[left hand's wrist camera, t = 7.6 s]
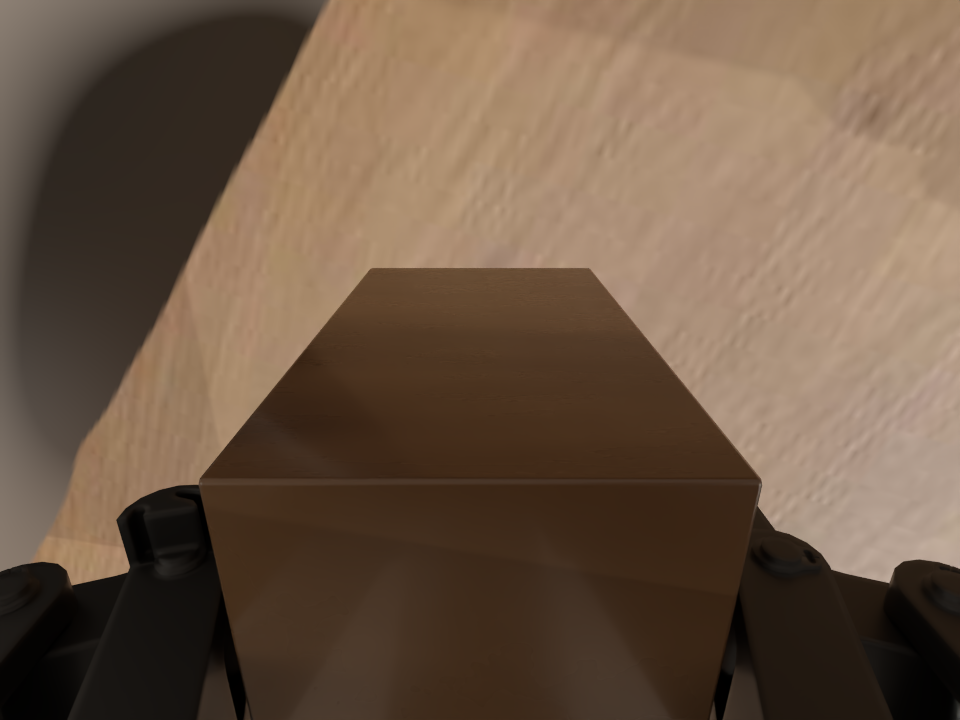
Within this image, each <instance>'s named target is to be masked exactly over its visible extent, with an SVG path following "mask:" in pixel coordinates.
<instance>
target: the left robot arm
mask: <svg viewBox="0 0 960 720" xmlns="http://www.w3.org/2000/svg"><path fill="white" fill-rule="evenodd" d="M117 524H118V527H119V531H120V534H121V537H122V541H123V544H124V547H125V551H126V554H127V558H128V561H129V564H130V569H129V571H128V573H124V574H121V575H117V576H113V577H109V578H104V579H100V580H95V581H90V582H86V583H81V584H77V585H71V582H70V579H69V576H68V573H67V571H66V570H65V569H64V568H62V567H61V566H60V565H59V564H55V563H47V562H38V563H31V564H24V565H20V566H17V567H13V568H11V569H7V570H4V571H1V572H0V720H251V718H250V713H249V709H248V704H247V700H246V695H245V691H244V686H243V682H242V677H241V673H240V668H239V664H238V659H237V655H236V650H235V646H234V642H233V637H232V633H231V628H230V624H229V619H228V615H227V610H226V606H225V601H224V597H223V592H222V588H221V583H220V579H219V574H218V570H217V565H216V561H215V556H214V552H213V547H212V543H211V538H210V534H209V529H208V525H207V520H206V516H205V511H204V507H203V502H202V498H201V493H200V489H199V485H181V486H175V487H171V488H166V489H162V490H159V491H156V492H154V493H152V494H149V495H147V496H145V497H142V498H140V499H139V500H137V501H136V502H134V503H133V504H131V505H130V506H129V507H127V508H126V509H125V510H124V511H123V512H122V514H121V515H120V516H119V517H118V518H117ZM710 720H960V569H958V568H956V567H952V566H950V565H946V564H943V563H940V562H933V561H926V560H912V561H904V562H902V563H901V564H900V565H898V566H897V567H896V568H895V569H894V572H893V575H892V578H891V581H890V583H885V582H881V581H876V580H872V579H867V578H862V577H858V576H853V575H849V574H844V573H841V572H837V571H834V570H831V568H830V566H829V564H828V563H827V562H826V560H825V559H824V557H823V556H822V554H821V553H819V552H818V551H817V550H815V549H814V548H813V547H812V546H810V545H809V544H808V543H806V542H804V541H802V540H800V539H798V538H796V537H794V536H792V535H790V534H787V533H783V532H779V531H776V530H775V529H774V528H773V526H772V525H771V524H770V522H769V521H768V520H767V518H766V517H765V516H764V514H763V513H762V512H761V510H760V509H759V508H758V506H757V510H756V514H755V519H754V523H753V528H752V532H751V537H750V541H749V546H748V550H747V555H746V559H745V564H744V568H743V572H742V577H741V581H740V586H739V590H738V595H737V599H736V604H735V608H734V613H733V617H732V622H731V626H730V631H729V635H728V640H727V644H726V649H725V653H724V657H723V662H722V666H721V671H720V675H719V680H718V684H717V689H716V693H715V698H714V702H713V707H712V711H711V716H710Z"/></svg>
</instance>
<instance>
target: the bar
mask: <svg viewBox="0 0 960 720" xmlns="http://www.w3.org/2000/svg"><path fill="white" fill-rule="evenodd" d="M761 487H762V482H761V479H760V477H759V476H758V475H757V474H756V472H755V471H754V470H753V469H752V467H751V466H750V465H749V464H748V463H747V461H746V460H745V459H744V458H743V456H742V455H741V454H740V453H739V451H738V450H737V449H736V448H735V447H734V445H733V444H732V443H731V442H730V440H729V439H728V438H727V437H726V436H725V434H724V433H723V432H722V431H721V429H720V428H719V427H718V426H717V424H716V423H715V422H714V421H713V420H712V418H711V417H710V416H709V415H708V413H707V412H706V411H705V410H704V408H703V407H702V406H701V405H700V404H699V402H698V401H697V400H696V399H695V397H694V396H693V395H692V394H691V392H690V391H689V390H688V389H687V388H686V386H685V385H684V384H683V383H682V381H681V380H680V379H679V378H678V377H677V375H676V374H675V373H674V372H673V370H672V369H671V368H670V367H669V365H668V364H667V363H666V362H665V361H664V359H663V358H662V357H661V356H660V354H659V353H658V352H657V351H656V349H655V348H654V347H653V346H652V345H651V343H650V342H649V341H648V340H647V338H646V337H645V336H644V335H643V334H642V332H641V331H640V330H639V329H638V327H637V326H636V325H635V324H634V322H633V321H632V320H631V319H630V318H629V316H628V315H627V314H626V313H625V311H624V310H623V309H622V308H621V306H620V305H619V304H618V303H617V302H616V300H615V299H614V298H613V297H612V295H611V294H610V293H609V292H608V291H607V289H606V288H605V287H604V286H603V284H602V283H601V282H600V281H599V279H598V278H597V277H596V276H595V275H594V273H593V272H592V271H591V270H590V269H589V268H372V269H370V270H369V271H368V273H367V274H366V275H365V276H364V278H363V279H362V280H361V281H360V282H359V284H358V285H357V286H356V287H355V289H354V290H353V291H352V292H351V294H350V295H349V296H348V297H347V298H346V300H345V301H344V302H343V303H342V305H341V306H340V307H339V308H338V309H337V311H336V312H335V313H334V314H333V316H332V317H331V318H330V319H329V321H328V322H327V323H326V324H325V325H324V327H323V328H322V329H321V330H320V332H319V333H318V334H317V335H316V337H315V338H314V339H313V340H312V341H311V343H310V344H309V345H308V346H307V348H306V349H305V350H304V351H303V353H302V354H301V355H300V356H299V357H298V359H297V360H296V361H295V362H294V364H293V365H292V366H291V367H290V369H289V370H288V371H287V372H286V373H285V375H284V376H283V377H282V378H281V380H280V381H279V382H278V383H277V385H276V386H275V387H274V388H273V389H272V391H271V392H270V393H269V394H268V396H267V397H266V398H265V399H264V400H263V402H262V403H261V404H260V405H259V407H258V408H257V409H256V410H255V412H254V413H253V414H252V415H251V416H250V418H249V419H248V420H247V421H246V423H245V424H244V425H243V426H242V428H241V429H240V430H239V431H238V432H237V434H236V435H235V436H234V437H233V439H232V440H231V441H230V442H229V444H228V445H227V446H226V447H225V448H224V450H223V451H222V452H221V453H220V455H219V456H218V457H217V458H216V460H215V461H214V462H213V463H212V464H211V466H210V467H209V468H208V469H207V471H206V472H205V473H204V474H203V475H202V477H201V478H200V480H199V489H200V493H201V498H202V502H203V507H204V511H205V516H206V520H207V525H208V529H209V534H210V538H211V543H212V547H213V552H214V556H215V561H216V565H217V570H218V574H219V579H220V583H221V588H222V592H223V597H224V601H225V606H226V610H227V615H228V619H229V624H230V628H231V633H232V637H233V642H234V646H235V650H236V655H237V659H238V664H239V668H240V673H241V677H242V682H243V686H244V691H245V695H246V700H247V704H248V709H249V713H250V718H251V720H710V716H711V711H712V707H713V702H714V698H715V693H716V689H717V684H718V680H719V675H720V671H721V666H722V662H723V657H724V653H725V649H726V644H727V640H728V635H729V631H730V626H731V622H732V617H733V613H734V608H735V604H736V599H737V595H738V590H739V586H740V581H741V577H742V572H743V568H744V564H745V559H746V555H747V550H748V546H749V541H750V537H751V532H752V528H753V523H754V519H755V514H756V510H757V505H758V501H759V496H760V492H761Z"/></svg>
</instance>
